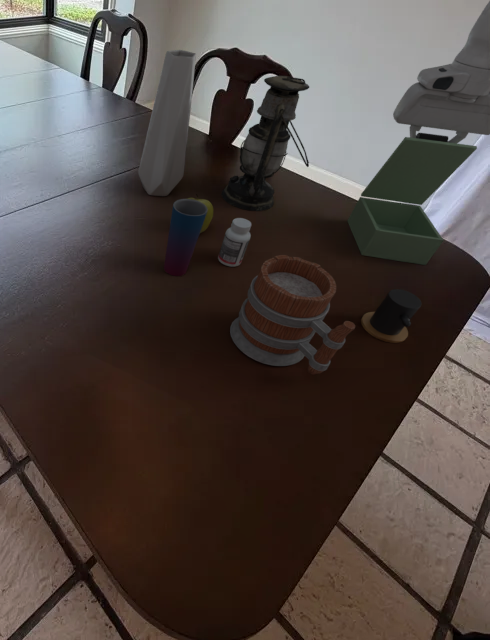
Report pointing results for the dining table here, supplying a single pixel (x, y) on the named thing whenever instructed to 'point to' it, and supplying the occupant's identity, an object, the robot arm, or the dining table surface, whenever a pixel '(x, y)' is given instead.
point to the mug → (289, 315)
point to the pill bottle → (235, 242)
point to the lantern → (266, 146)
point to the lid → (417, 169)
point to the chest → (393, 231)
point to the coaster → (387, 338)
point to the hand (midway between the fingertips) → (427, 148)
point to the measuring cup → (395, 312)
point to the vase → (168, 125)
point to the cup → (183, 234)
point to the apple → (208, 215)
